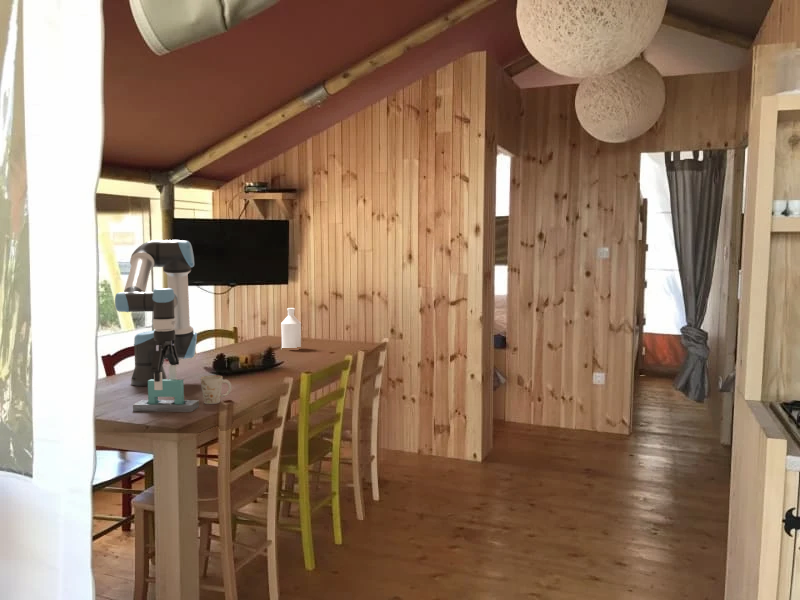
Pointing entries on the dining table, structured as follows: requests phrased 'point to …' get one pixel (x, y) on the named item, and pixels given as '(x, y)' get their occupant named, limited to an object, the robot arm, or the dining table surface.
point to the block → (166, 406)
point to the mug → (213, 388)
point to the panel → (166, 391)
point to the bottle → (291, 331)
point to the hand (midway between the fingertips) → (165, 385)
